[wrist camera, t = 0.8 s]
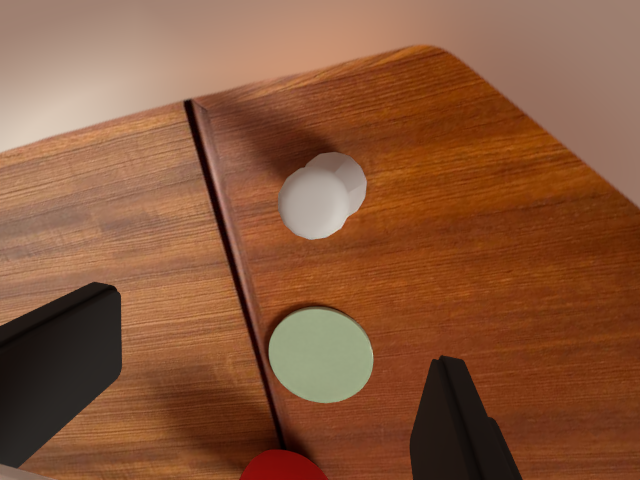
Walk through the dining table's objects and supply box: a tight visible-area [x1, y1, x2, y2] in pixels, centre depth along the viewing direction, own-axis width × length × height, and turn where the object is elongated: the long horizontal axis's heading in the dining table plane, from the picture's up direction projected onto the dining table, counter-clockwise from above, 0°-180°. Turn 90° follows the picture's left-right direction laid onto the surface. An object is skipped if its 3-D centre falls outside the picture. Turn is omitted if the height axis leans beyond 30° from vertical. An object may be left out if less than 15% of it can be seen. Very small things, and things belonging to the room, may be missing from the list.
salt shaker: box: [278, 152, 367, 240], centre depth 25 cm, size 6×6×13 cm
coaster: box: [269, 307, 373, 403], centre depth 36 cm, size 11×11×1 cm
